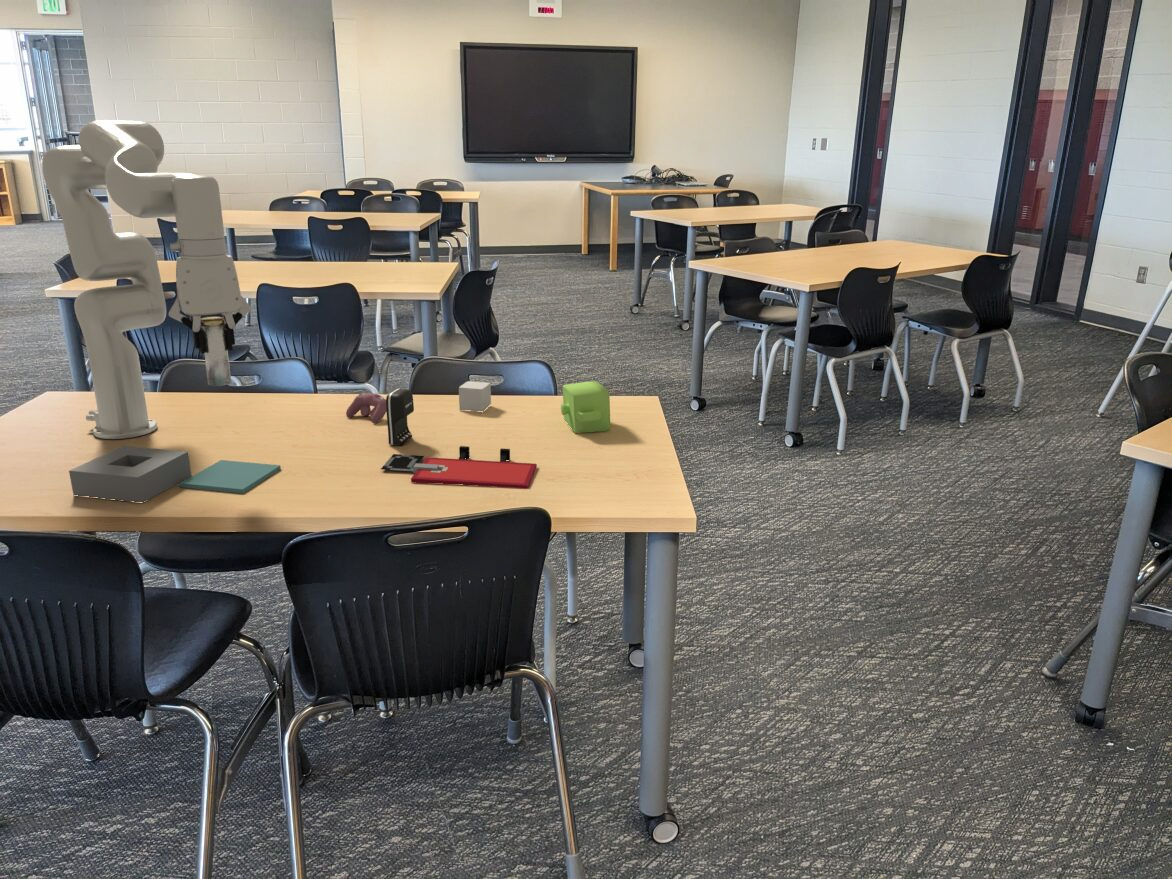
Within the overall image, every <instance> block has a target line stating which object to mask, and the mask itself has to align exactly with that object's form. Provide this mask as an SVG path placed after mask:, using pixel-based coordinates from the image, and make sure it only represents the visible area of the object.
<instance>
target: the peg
mask: <svg viewBox="0 0 1172 879" xmlns="http://www.w3.org/2000/svg"><path fill="white" fill-rule="evenodd" d="M200 328H201V331H203V333H204V341H205V349H206V353H203V355H204V363H205V371H206V379H207V385H208V386H211V387H223V386H227V385H231V384H232V378H231V377H232V376H231V367H230V360H229V358H230V357H229V350H228V349H227V341H226V333H225V321H224V318H223V316H222V317H221V316H206V317H202V318H201V320H200Z"/></svg>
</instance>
